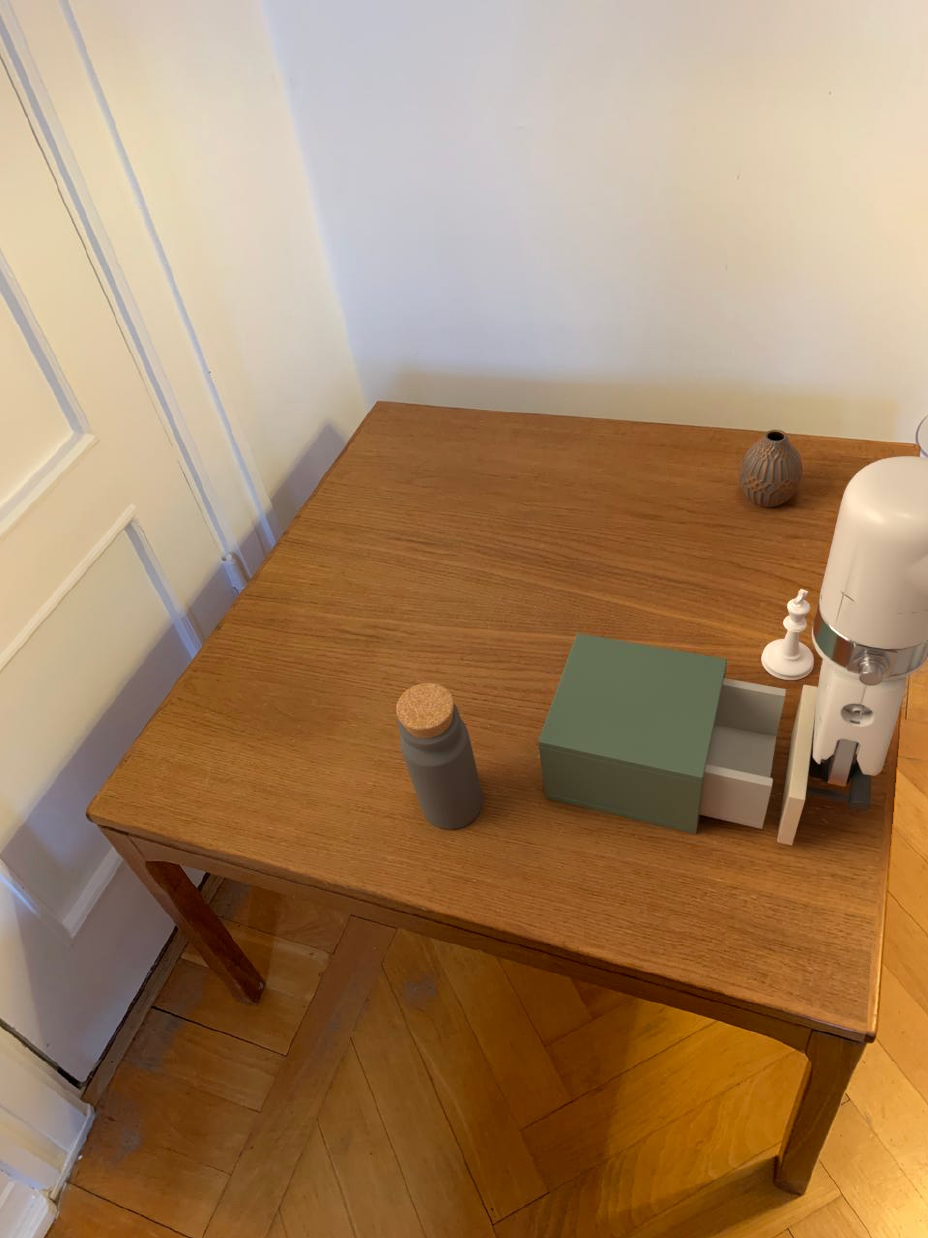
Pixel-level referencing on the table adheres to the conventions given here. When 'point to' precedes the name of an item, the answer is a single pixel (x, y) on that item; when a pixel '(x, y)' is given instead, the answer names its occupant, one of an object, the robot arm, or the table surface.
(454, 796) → the bottle
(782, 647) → the chess piece
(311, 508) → the table surface
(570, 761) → the cabinet
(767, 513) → the table surface
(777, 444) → the vase
